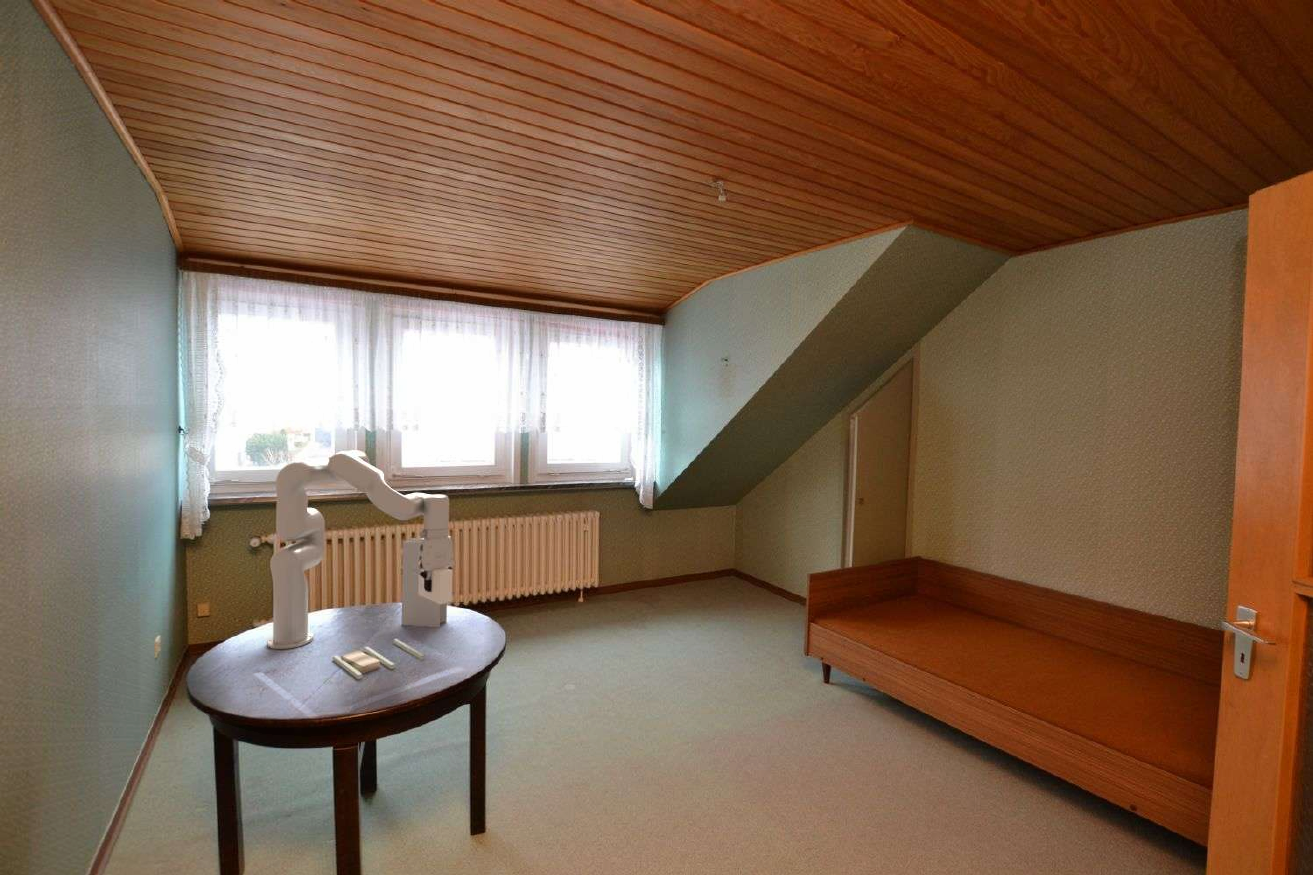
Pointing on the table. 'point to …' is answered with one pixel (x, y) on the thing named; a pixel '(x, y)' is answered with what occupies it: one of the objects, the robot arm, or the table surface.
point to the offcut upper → (361, 661)
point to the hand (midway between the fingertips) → (435, 588)
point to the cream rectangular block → (438, 586)
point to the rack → (377, 656)
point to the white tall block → (413, 604)
